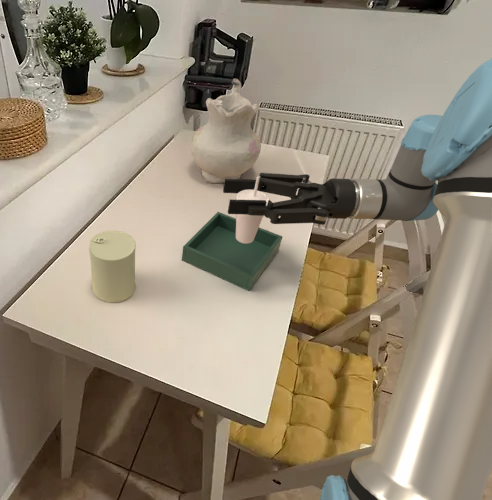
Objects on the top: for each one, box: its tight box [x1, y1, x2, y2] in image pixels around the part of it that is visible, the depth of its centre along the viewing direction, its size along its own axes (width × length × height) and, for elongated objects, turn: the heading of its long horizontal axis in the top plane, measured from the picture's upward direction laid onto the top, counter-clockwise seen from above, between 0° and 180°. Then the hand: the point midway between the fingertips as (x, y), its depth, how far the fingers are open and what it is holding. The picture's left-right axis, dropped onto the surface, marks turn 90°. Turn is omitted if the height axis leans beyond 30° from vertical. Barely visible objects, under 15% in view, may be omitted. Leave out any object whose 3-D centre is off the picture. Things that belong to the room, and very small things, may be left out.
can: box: [88, 230, 137, 303], centre depth 87 cm, size 9×9×12 cm
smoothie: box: [234, 175, 271, 244], centre depth 83 cm, size 6×6×14 cm
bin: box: [181, 211, 283, 292], centre depth 98 cm, size 17×17×4 cm
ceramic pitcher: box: [190, 77, 262, 184], centre depth 120 cm, size 22×20×25 cm
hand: (226, 196), depth 81 cm, fingers closed on smoothie, 6 cm apart
